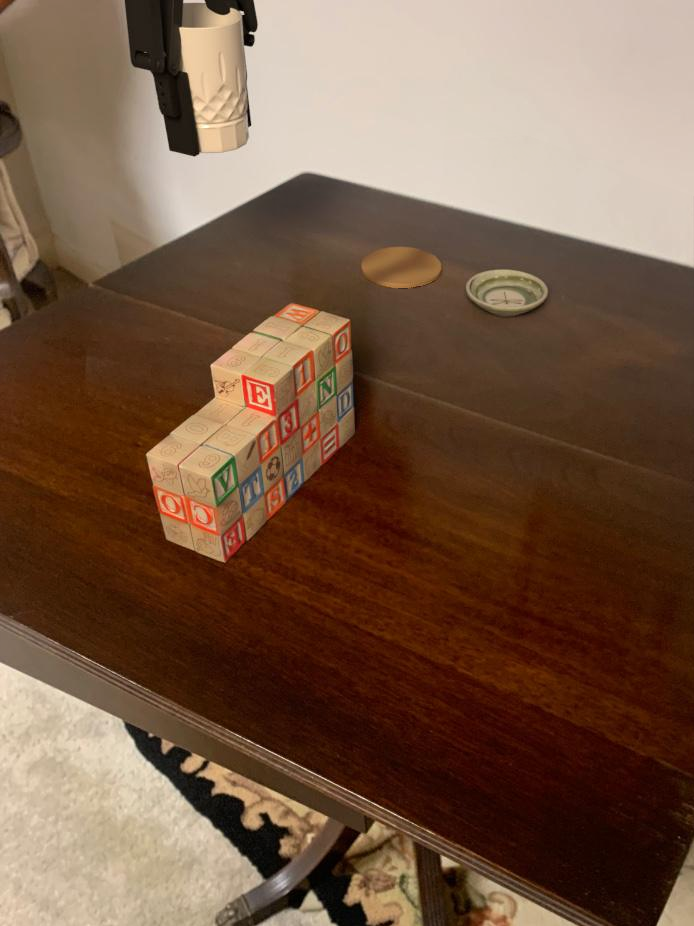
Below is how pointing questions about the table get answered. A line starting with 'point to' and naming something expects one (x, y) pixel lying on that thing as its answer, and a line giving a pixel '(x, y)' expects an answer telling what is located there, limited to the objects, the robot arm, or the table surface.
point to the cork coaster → (401, 267)
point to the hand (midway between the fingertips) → (211, 137)
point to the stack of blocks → (257, 431)
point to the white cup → (215, 76)
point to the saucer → (506, 291)
